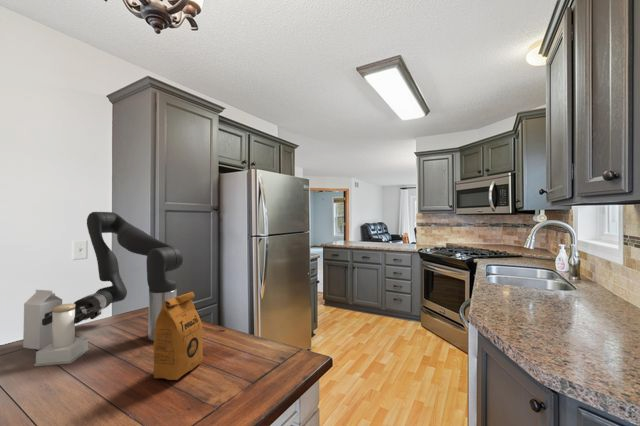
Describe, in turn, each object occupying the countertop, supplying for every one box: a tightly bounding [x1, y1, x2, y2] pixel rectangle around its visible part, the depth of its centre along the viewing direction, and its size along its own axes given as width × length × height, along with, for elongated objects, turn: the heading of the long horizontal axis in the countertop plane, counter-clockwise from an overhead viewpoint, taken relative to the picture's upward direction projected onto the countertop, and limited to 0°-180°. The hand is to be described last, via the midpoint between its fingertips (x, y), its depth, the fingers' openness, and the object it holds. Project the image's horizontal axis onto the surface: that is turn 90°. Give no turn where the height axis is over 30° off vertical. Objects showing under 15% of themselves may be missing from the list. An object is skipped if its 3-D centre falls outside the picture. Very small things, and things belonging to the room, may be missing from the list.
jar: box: [52, 302, 76, 348], centre depth 93 cm, size 6×6×12 cm
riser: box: [33, 337, 90, 367], centre depth 93 cm, size 10×10×4 cm
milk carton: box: [22, 289, 63, 350], centre depth 102 cm, size 7×7×19 cm
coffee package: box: [153, 291, 204, 381], centre depth 85 cm, size 10×12×22 cm
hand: (59, 321), depth 91 cm, fingers open, 8 cm apart
